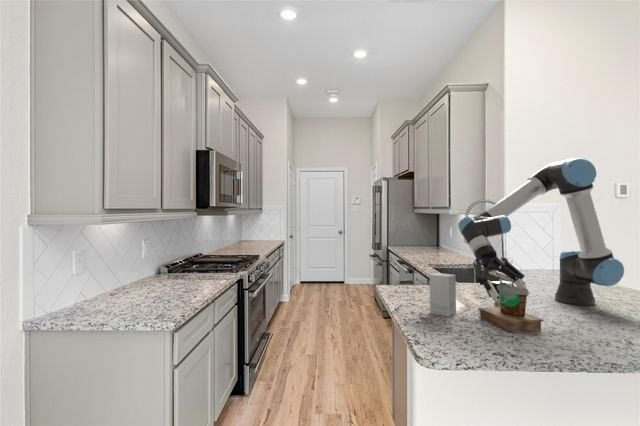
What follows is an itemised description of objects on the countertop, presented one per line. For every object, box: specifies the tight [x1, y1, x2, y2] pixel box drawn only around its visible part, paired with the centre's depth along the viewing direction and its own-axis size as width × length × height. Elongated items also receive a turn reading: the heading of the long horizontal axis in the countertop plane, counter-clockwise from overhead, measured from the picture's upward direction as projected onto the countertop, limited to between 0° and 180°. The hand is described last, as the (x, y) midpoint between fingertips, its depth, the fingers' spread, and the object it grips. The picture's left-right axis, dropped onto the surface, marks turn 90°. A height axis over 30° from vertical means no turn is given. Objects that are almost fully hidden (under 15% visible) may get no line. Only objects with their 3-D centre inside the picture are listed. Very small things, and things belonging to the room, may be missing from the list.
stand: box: [478, 306, 544, 333], centre depth 131 cm, size 13×17×4 cm
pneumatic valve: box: [486, 279, 515, 307], centre depth 154 cm, size 6×12×12 cm, turn 114°
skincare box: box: [429, 272, 457, 318], centre depth 144 cm, size 8×7×16 cm
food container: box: [497, 282, 529, 317], centre depth 132 cm, size 12×6×10 cm, turn 8°
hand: (511, 296), depth 130 cm, fingers open, 13 cm apart
